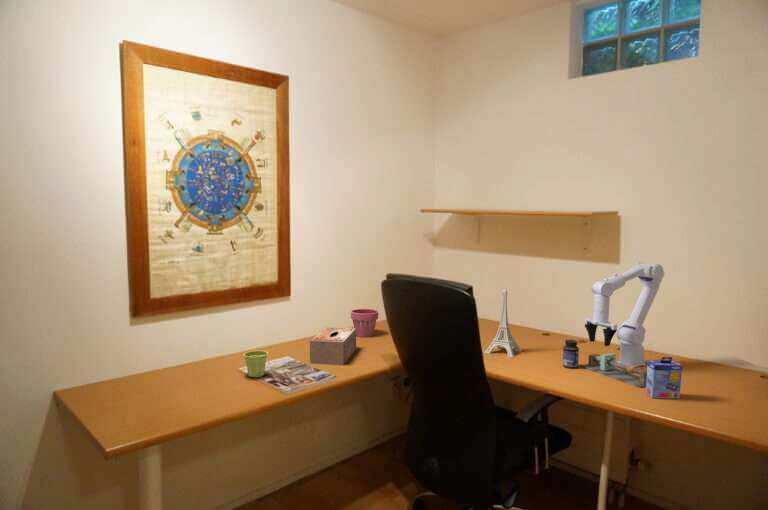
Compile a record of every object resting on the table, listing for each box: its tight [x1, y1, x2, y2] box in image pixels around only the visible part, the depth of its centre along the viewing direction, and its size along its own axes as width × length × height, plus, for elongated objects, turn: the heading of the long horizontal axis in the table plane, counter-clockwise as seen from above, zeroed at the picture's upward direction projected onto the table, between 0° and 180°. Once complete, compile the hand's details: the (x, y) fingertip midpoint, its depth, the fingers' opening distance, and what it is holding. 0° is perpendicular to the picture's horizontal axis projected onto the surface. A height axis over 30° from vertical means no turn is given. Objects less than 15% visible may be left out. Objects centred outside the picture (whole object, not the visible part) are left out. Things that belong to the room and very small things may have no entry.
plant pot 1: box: [243, 350, 269, 378], centre depth 200 cm, size 9×9×9 cm
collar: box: [600, 352, 617, 371], centre depth 206 cm, size 2×6×6 cm, turn 115°
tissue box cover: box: [309, 326, 357, 366], centre depth 227 cm, size 26×14×10 cm, turn 171°
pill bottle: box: [562, 339, 580, 370], centre depth 212 cm, size 6×6×11 cm
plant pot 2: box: [350, 308, 379, 338], centre depth 265 cm, size 14×14×13 cm
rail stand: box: [580, 353, 647, 389], centre depth 202 cm, size 28×10×5 cm, turn 25°
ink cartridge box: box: [645, 356, 683, 400], centre depth 179 cm, size 10×6×14 cm, turn 90°
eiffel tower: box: [484, 287, 523, 358], centre depth 234 cm, size 13×13×30 cm
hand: (599, 343), depth 210 cm, fingers open, 7 cm apart
